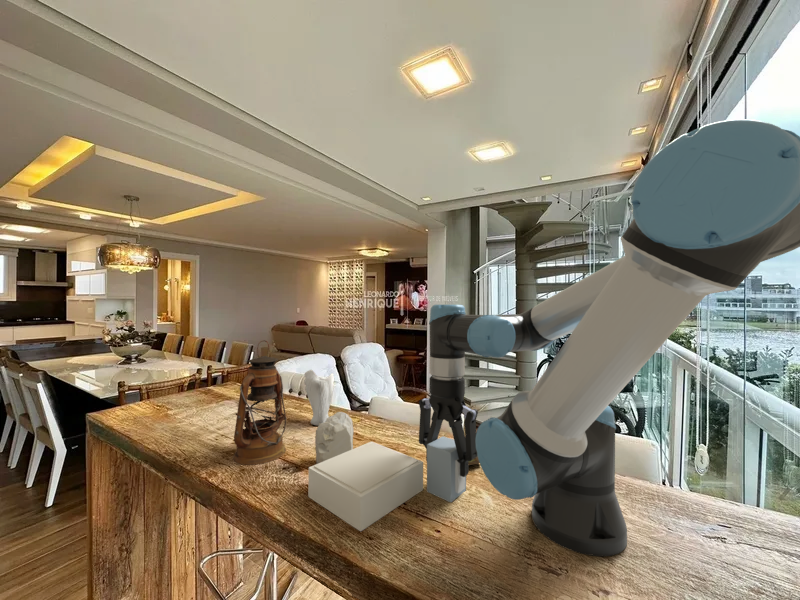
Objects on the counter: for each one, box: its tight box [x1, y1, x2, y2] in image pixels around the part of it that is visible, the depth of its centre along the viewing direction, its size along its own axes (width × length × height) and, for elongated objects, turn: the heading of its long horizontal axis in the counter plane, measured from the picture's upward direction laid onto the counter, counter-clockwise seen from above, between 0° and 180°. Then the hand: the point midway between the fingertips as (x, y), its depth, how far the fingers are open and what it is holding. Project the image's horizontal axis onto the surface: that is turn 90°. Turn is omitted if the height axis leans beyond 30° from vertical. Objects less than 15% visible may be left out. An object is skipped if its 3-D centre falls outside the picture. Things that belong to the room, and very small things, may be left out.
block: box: [426, 436, 467, 503], centre depth 73 cm, size 6×6×10 cm
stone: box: [314, 411, 355, 464], centre depth 87 cm, size 10×5×12 cm, turn 122°
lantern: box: [232, 340, 288, 466], centre depth 90 cm, size 17×13×30 cm
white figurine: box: [303, 369, 335, 426], centre depth 113 cm, size 8×8×18 cm
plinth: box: [307, 440, 424, 532], centre depth 72 cm, size 16×18×6 cm
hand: (446, 484), depth 73 cm, fingers closed on block, 6 cm apart
